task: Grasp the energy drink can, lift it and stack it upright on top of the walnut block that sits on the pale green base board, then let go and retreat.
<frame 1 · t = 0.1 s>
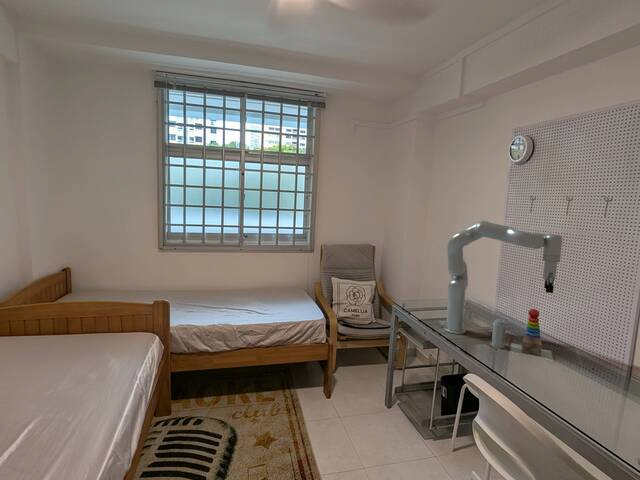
hand: (548, 290, 178), 31 cm above the table, fingers open, 9 cm apart
base board: (530, 353, 174), on the table
stacking toy: (532, 342, 188), on the table
energy drink can: (497, 348, 180), on the table
walnut block: (531, 351, 173), point 1 cm above the table, touching base board
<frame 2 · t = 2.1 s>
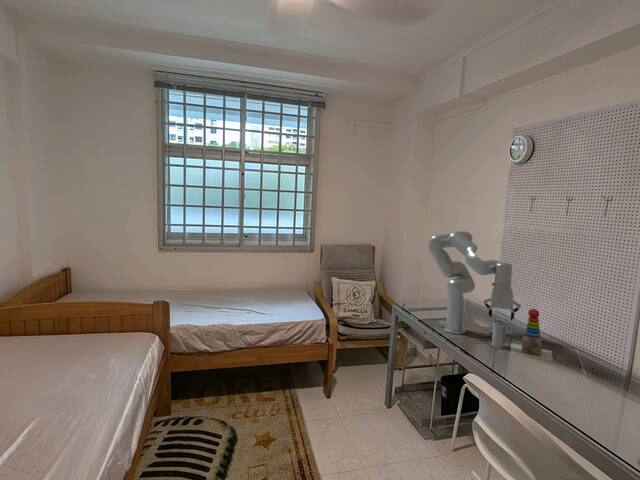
hand: (501, 318, 178), 16 cm above the table, fingers open, 9 cm apart
nothing on the table moved.
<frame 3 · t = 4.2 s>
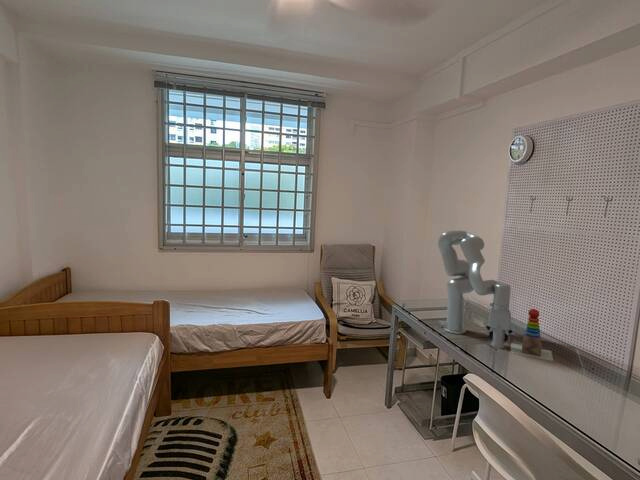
hand: (498, 339, 180), 5 cm above the table, fingers closed on energy drink can, 6 cm apart
energy drink can: (497, 348, 180), on the table, touching gripper
everything else where it was.
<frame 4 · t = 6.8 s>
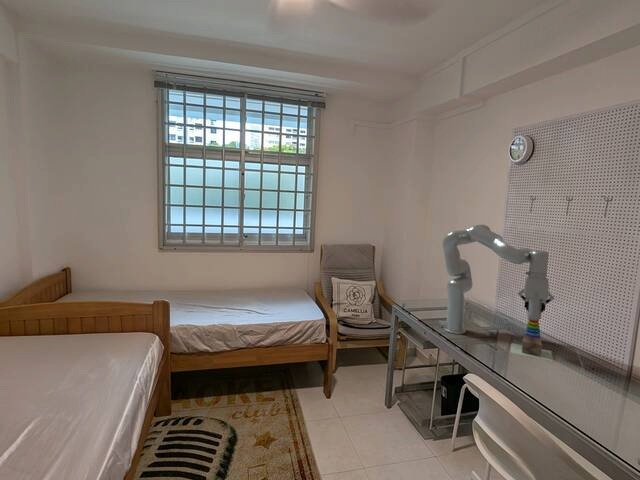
hand: (534, 310, 171), 23 cm above the table, fingers closed on energy drink can, 6 cm apart
energy drink can: (533, 319, 171), point 18 cm above the table, touching gripper
everything else where it was.
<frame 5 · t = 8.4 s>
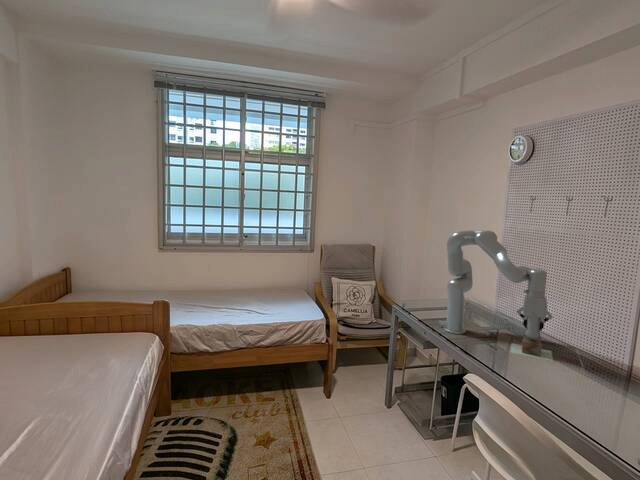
hand: (533, 328, 172), 14 cm above the table, fingers closed on energy drink can, 6 cm apart
energy drink can: (532, 337, 173), point 9 cm above the table, touching gripper
everything else where it was.
when the fingers open (13 cm above the table, at t = 9.4 s): energy drink can drops 1 cm, resting on walnut block.
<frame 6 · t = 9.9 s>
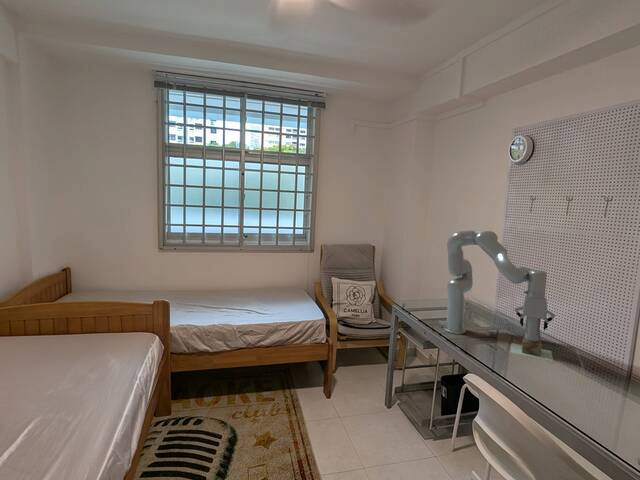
hand: (533, 327, 172), 14 cm above the table, fingers open, 9 cm apart
energy drink can: (531, 340, 173), point 7 cm above the table, touching walnut block
walnut block: (531, 351, 173), point 1 cm above the table, touching base board, energy drink can
everything else where it was.
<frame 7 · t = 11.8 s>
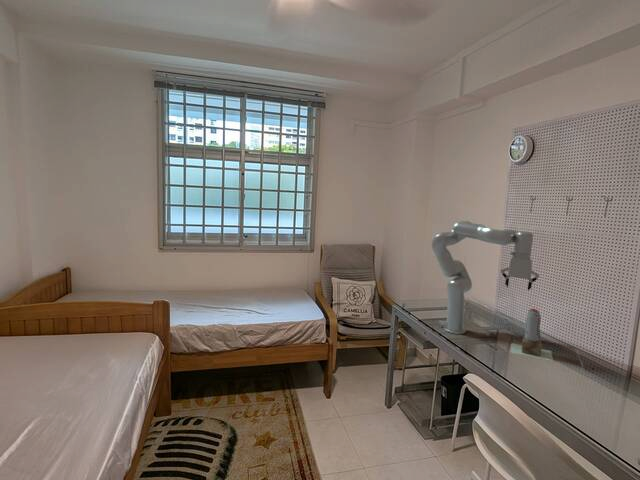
hand: (517, 287, 177), 33 cm above the table, fingers open, 9 cm apart
nothing on the table moved.
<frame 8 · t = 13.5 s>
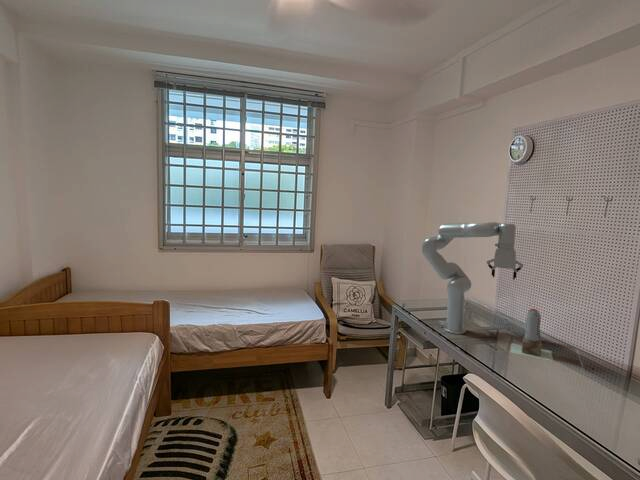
hand: (503, 278, 183), 36 cm above the table, fingers open, 9 cm apart
nothing on the table moved.
at the end: energy drink can 0.2 cm from the walnut block (horizontally); energy drink can point 7.0 cm above the table; energy drink can tilted 0° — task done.
